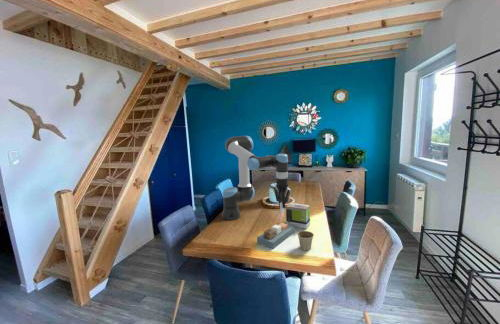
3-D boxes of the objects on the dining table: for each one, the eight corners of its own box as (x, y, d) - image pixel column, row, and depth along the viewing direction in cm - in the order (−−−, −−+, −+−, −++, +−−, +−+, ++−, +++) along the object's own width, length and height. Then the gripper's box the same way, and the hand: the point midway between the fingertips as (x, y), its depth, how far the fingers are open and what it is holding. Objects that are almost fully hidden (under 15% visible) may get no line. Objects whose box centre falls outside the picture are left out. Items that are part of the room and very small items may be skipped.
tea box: (310, 224, 173) (310, 204, 171) (306, 229, 165) (306, 209, 162) (290, 220, 181) (290, 202, 178) (285, 225, 172) (285, 206, 170)
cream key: (271, 232, 153) (271, 226, 153) (275, 230, 157) (275, 224, 156) (277, 234, 150) (277, 228, 150) (281, 231, 154) (281, 226, 153)
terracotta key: (277, 230, 160) (277, 225, 159) (281, 228, 163) (281, 222, 163) (284, 232, 157) (284, 226, 156) (287, 230, 160) (287, 224, 160)
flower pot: (312, 253, 134) (312, 239, 133) (296, 250, 138) (295, 236, 136) (314, 245, 143) (314, 232, 141) (298, 243, 146) (298, 229, 145)
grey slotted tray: (257, 243, 148) (256, 237, 147) (279, 228, 168) (279, 223, 167) (273, 249, 140) (272, 242, 140) (294, 232, 160) (294, 227, 160)
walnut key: (264, 237, 147) (263, 231, 146) (268, 234, 151) (268, 228, 150) (270, 239, 144) (270, 233, 143) (274, 236, 148) (274, 230, 147)
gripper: (270, 177, 155) (270, 211, 159) (287, 180, 147) (287, 216, 151) (276, 175, 161) (276, 208, 165) (293, 177, 153) (293, 212, 157)
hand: (282, 212), depth 158 cm, fingers closed
